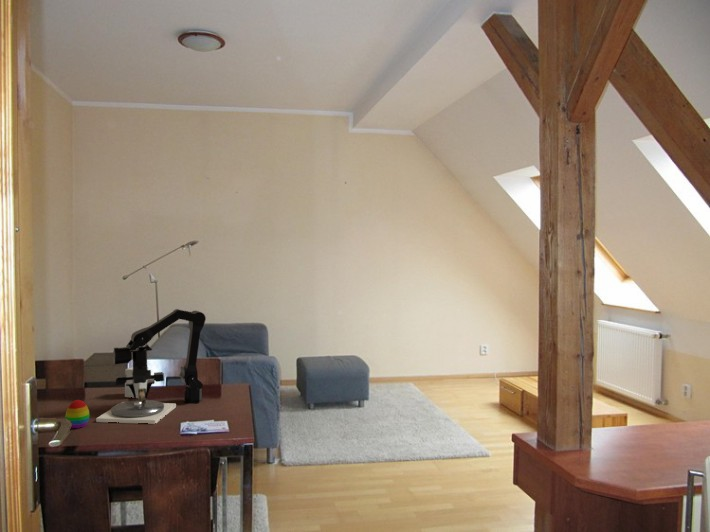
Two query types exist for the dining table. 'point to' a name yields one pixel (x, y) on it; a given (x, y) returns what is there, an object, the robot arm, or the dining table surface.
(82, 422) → the decorative egg
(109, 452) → the dining table surface
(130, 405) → the handwheel
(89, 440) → the dining table surface
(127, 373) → the supplement box
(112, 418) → the base plate
